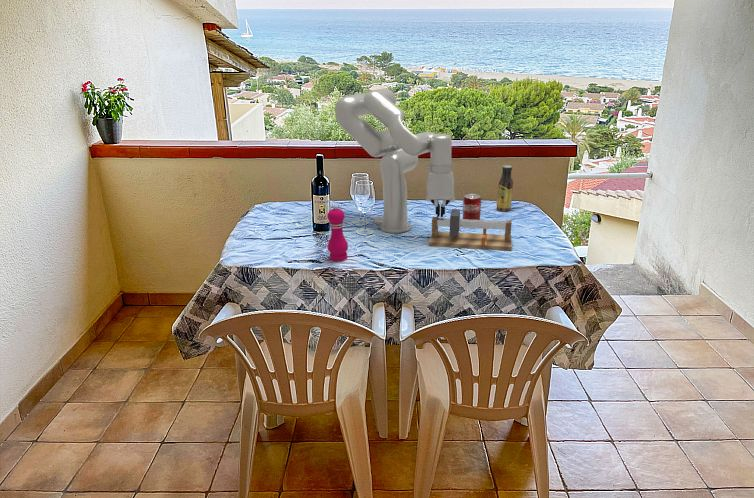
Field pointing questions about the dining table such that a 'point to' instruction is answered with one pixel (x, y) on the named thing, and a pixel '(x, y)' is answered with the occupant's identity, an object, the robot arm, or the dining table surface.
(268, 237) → the dining table surface
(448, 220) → the white long bar
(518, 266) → the dining table surface
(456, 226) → the collar
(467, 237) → the pipe stand
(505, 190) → the sauce bottle
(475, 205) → the soda can
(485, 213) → the dining table surface
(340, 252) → the pepper mill
